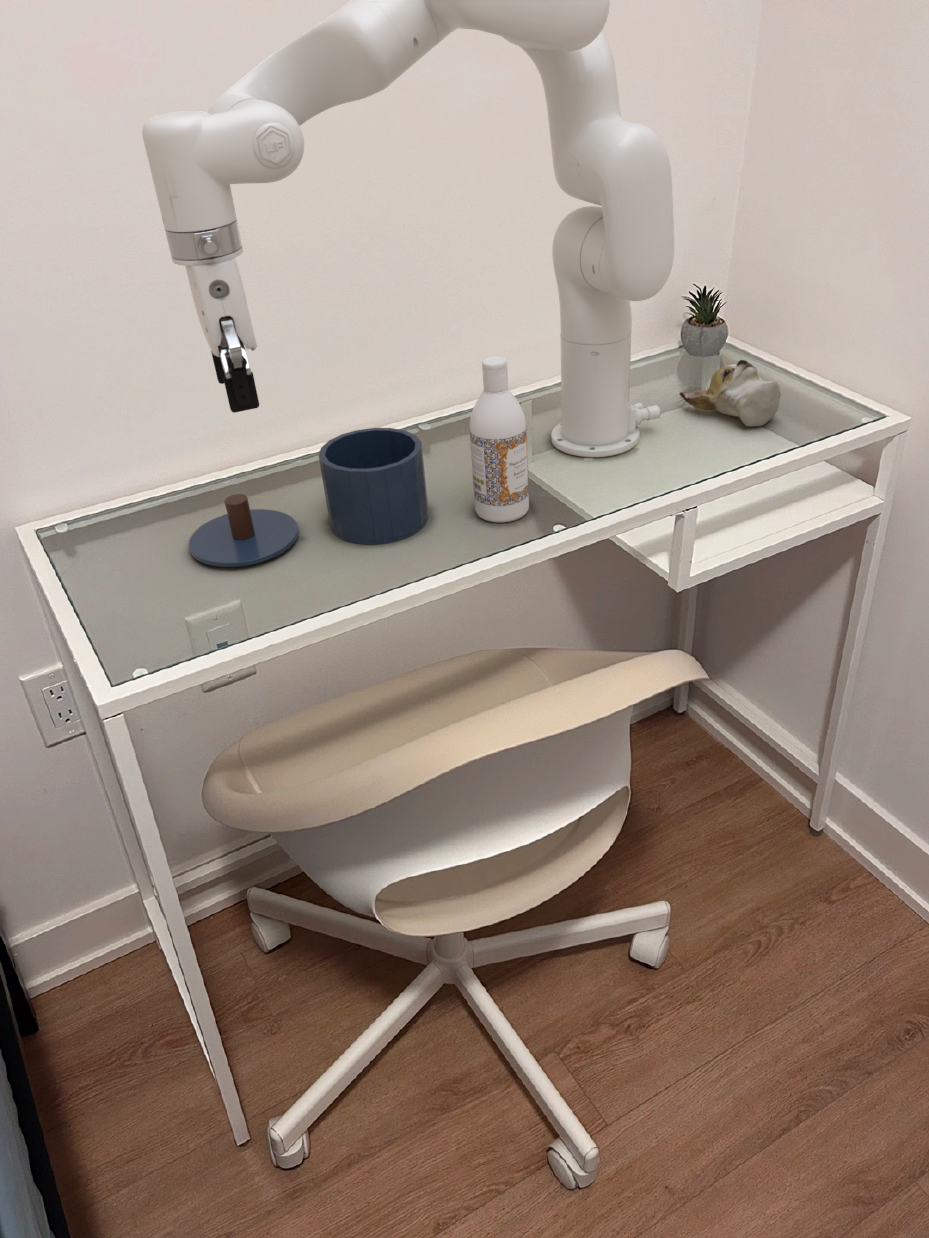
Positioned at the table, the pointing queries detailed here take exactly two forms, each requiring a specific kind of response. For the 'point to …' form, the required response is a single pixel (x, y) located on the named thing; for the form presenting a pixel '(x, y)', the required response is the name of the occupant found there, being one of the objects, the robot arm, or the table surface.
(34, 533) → the table surface
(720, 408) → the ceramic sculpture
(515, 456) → the bath foam
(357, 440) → the tin
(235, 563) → the tin lid
